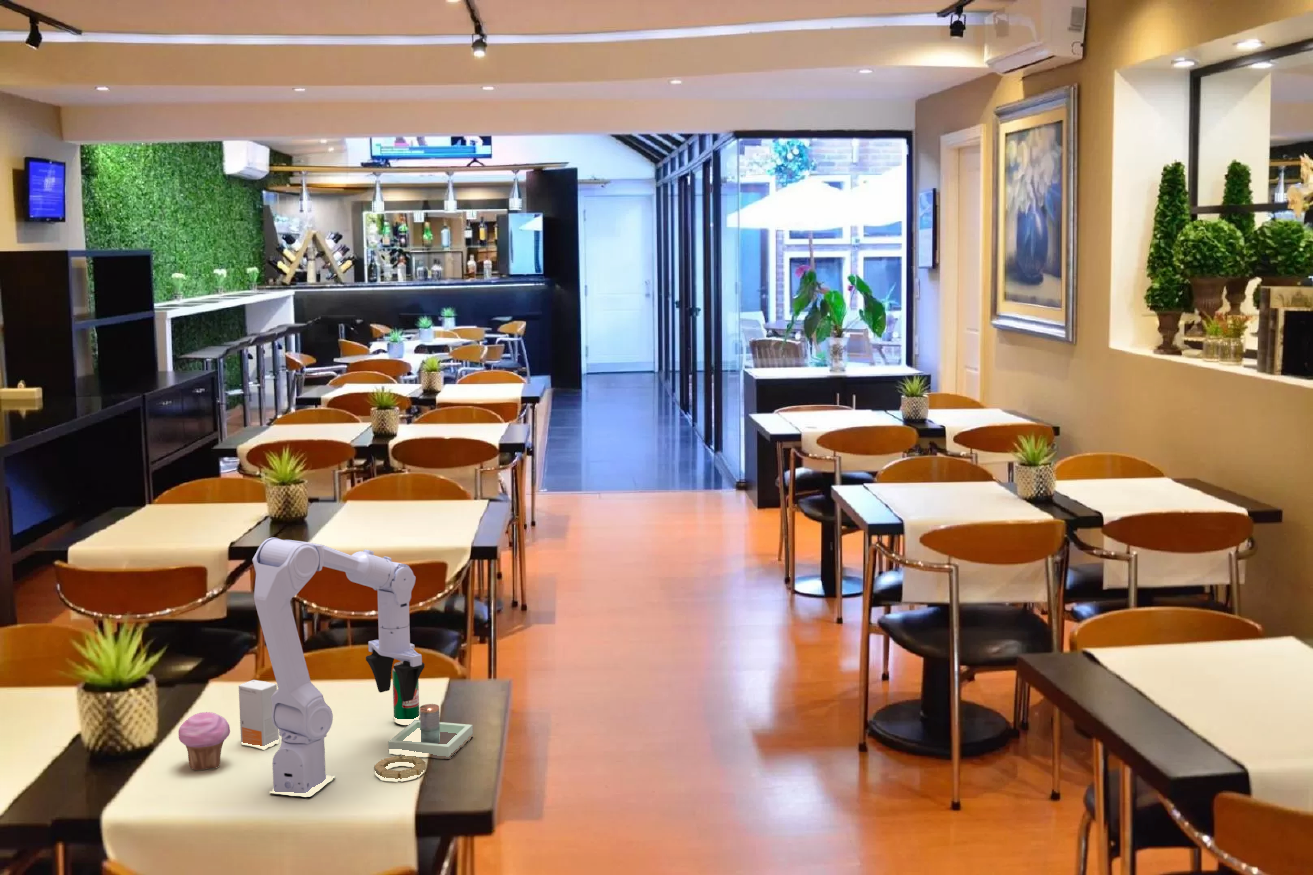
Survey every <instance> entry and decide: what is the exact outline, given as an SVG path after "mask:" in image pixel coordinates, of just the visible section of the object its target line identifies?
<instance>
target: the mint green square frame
mask: <svg viewBox="0 0 1313 875" xmlns="http://www.w3.org/2000/svg"><path fill="white" fill-rule="evenodd" d="M473 727H474V726H473V724H468V723H467V724H464V723H455V722H454V723H453V722H442V721H440V732H448V733H456V734H457V735H455V736H454V737H453V738H452V739H451V740H450V741H449V742H448V743H447V744H435V743H423V742H412V741H403V740H404V739H405V738H406V737H407V736H409V735H410V734H411V733H412V732H414V731H415V730H416V729H417V728H420V719H419V720H414V721H413V722H412V723H411V724H409V725H408V726H405V727H404V728H403V729H402V730H401V731H399V732H398V733H396V735H394V736H393V737H392V738H391V739H389V740H388V742H387V743H388V744H387V746H388V749H402V750H409V751H414V752H415V751H416V752H422V753H429V754H433V755H437V756H446V757H449V756H450V755H451V753H453V752H454V751H455V750H456V749H458V748H459V746H460V745H462V744H463V742H464V741H465V740H467V739H468V737H469V736H471V735H472V734H473V733H474V730H473V729H474V728H473ZM473 735H474V734H473Z"/></svg>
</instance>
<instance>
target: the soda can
mask: <svg viewBox="0 0 1313 875" xmlns="http://www.w3.org/2000/svg"><path fill="white" fill-rule="evenodd" d="M400 664H403V661H398V662H394V663H393V667H392V671H391V677H392V699H393V700H392V702H393V703H392V704H393V705H392V706H393V718H394V717H395V718H397V719H414V718H416V717H418V716H419V715H420V687H419V686H420V684H419V679H418V681H417V685H416V689H415V693H414V697H413V700H409V701H405V702H404V701H402V699H401V694H400V685H399V680H398V676H397V674H396V672H395V670H394V666H396V665H400Z"/></svg>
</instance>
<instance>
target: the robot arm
mask: <svg viewBox="0 0 1313 875" xmlns="http://www.w3.org/2000/svg"><path fill="white" fill-rule="evenodd" d="M374 554H375V551H374V550H370V549H366V548H365V549H363V551H362V550H361V551H360V550H359V551H356V552H353V553H352V554H348V553H346V552H344V551H341V550H338V549H335V548H332V547H329V546H327V545H324V544H322V543H321V544H319V543H314V542H309V541H302V540H294V539H293V540H292V539H281V538H280V537H279V538H278V537H270V538H266V539H265V540H263V541H262V543H261V544H260V545H259V547H257V550H256V553H255V554H254V556H253V558H252V560H251V561H252V563H253V567H254V571H255V572H254V573H255V583H254V591H253V599H254V605H255V609H256V611H257V616H258V620H259V624H260V626H261V630H262V634H263V637H264V641H265V642H264V643H265V645H266V649H267V652H268V657H269V661H270V663H271V667H272V671H273V674H274V678H275V682H276V685H277V690H276V691H275V692H274V694H273V695H272V696H271V700H272V715H271V717H272V722H273V724H274V726H275V727H276V728H278V730H279V737H281V742H280V746H279V748H278V750H277V751H276V752H275V753H274V755H273V756H272V757H273V758H272V780H273V782H272V783H273V788H274V791H275V792H294V793H306V792H308V791H309V790H310V789H311V788H312V787H315V786H316V785H318V784H320V783H322V782H323V781H324V780H325V779H326V775H327V774H326V755H325V753H326V752H325V749H326V748H325V738H326V737H327V734H328V732H330V729H331V728H332V725H333V720H334V719H333V718H334V714H333V711H332V709H331V707H330V706H329V705H328V703H326V700H325V698H324V694H322V692H321V691H320V690H319V689H318V688H317V687H316V686H315V685H314V684H313V683H312V681H311V678H310V677H311V676H310V673H309V670H308V669H309V668H308V666H307V662H306V659H305V654H304V650H303V647H302V643H301V640H300V637H299V632H298V628H297V624H296V620H295V617H294V613H293V610H292V606H291V600H292V599H293V598H294V597H295V596H297V595H298V594H299V592H300V591H301V590H302V589H303V588H304V587H305V585H306V584H308V582H309V581H310V580H311V579H312V578H313V576H314V575H315V574H316V572H320V571H322V570H323V567H324V568H328V569H332V570H336V571H339V572H344V573H345V575H346V578H347V579H348V580H349V581H350V582H352V583H356V584H359V585H362V586H366V587H369V588H372V589H373V590H374V591H377V620H378V621H377V623H378V639H374V640H369V641H368V642H367V643H368V652H370V653H371V654H369V655H366V656H365V661H366V662H367V664H368V665H369V667H370V669H371V671H372V674H373V676H374V681H375V683H376V688H377V690H378V693H384V692H388V691H390V689H391V686H392V685H391V683H392V670H393V668H394V670H395V672H396V674H397V676H398V680H399V685H400V694H401V699H402V701H404V702H405V701H409V700H413V697H414V693H415V689H416V685H417V681H418V680H419V678H420V675H421V674H422V672H423V670H424V669H425V664H426V663H424V662H423V657H422V656H423V655H422V654H421V653H418V652H417V651H416V650H415V648H416V647H415V644H413V643H411V633H410V602H411V599H412V591H413V589H414V586H415V584H416V579H417V578H416V576H415V574H414V571H413V570H412V568H411V567H410V566H409V565H408V564H406V563H401V562H396V561H392V557H389V556H383V557H381V556H378V555H374ZM395 660H397V661H399V662H401V661H403V664H400V665H396V666H394V661H395Z"/></svg>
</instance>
